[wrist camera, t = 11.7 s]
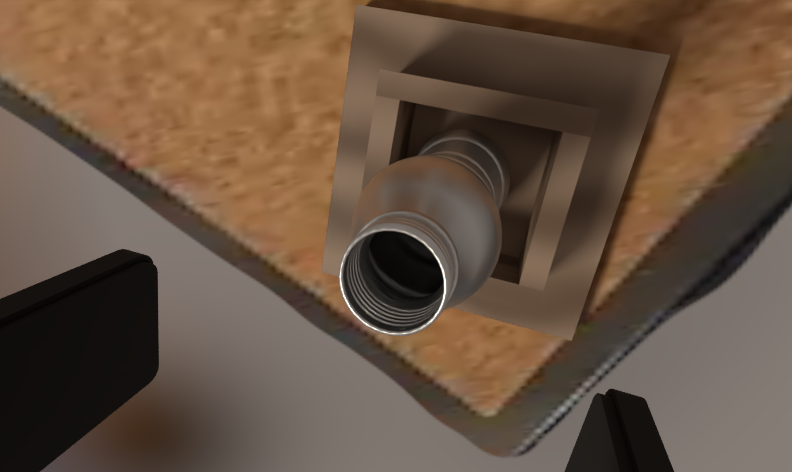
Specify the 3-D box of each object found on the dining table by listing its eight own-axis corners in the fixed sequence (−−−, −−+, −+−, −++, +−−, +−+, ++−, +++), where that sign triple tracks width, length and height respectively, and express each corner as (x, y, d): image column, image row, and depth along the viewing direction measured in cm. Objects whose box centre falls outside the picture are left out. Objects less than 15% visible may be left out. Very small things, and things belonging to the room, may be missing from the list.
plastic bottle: (516, 129, 31) (512, 184, 13) (504, 226, 33) (485, 395, 15) (422, 122, 33) (293, 163, 14) (416, 216, 35) (297, 358, 16)
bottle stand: (363, 8, 33) (328, -11, 27) (663, 56, 29) (700, 47, 23) (328, 265, 39) (294, 297, 33) (569, 330, 36) (579, 379, 30)
